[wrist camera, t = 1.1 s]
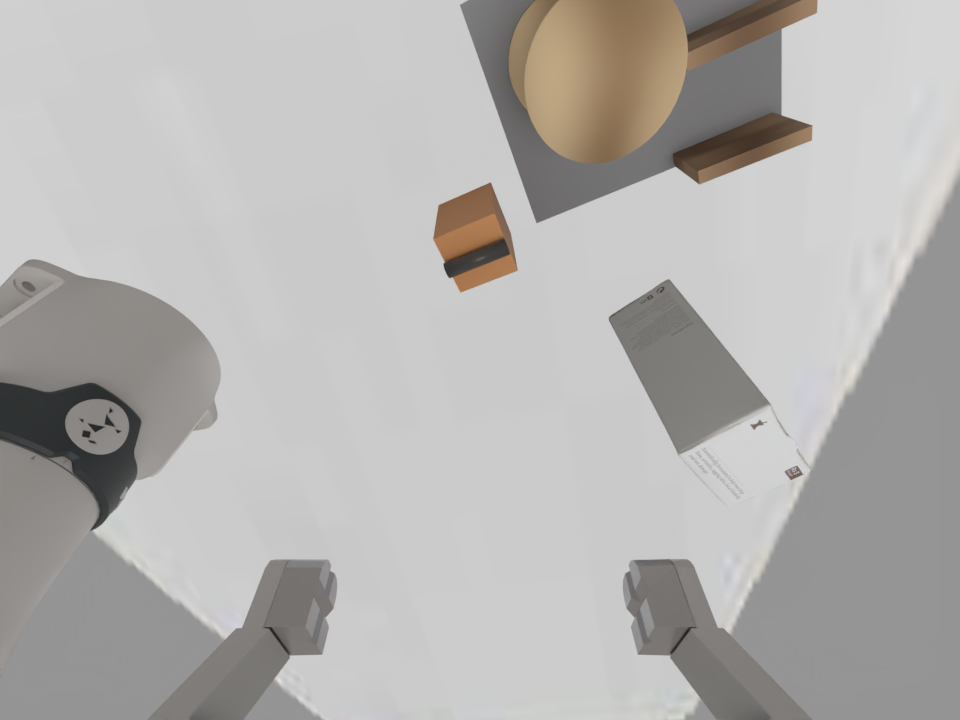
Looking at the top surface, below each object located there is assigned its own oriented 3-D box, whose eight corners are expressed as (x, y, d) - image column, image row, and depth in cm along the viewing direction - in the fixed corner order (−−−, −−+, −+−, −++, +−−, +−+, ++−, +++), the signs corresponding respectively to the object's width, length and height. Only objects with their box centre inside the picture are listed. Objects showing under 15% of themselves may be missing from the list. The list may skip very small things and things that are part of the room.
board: (534, 217, 32) (536, 223, 31) (460, 5, 25) (459, 4, 24) (771, 120, 28) (781, 124, 28) (767, -163, 21) (781, -171, 20)
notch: (674, 165, 29) (699, 184, 26) (657, 48, 25) (685, 53, 22) (772, 125, 28) (811, 140, 24) (771, -5, 24) (817, -8, 21)
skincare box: (605, 316, 38) (667, 454, 26) (671, 273, 35) (772, 403, 23) (652, 372, 41) (724, 514, 30) (714, 337, 39) (819, 476, 27)
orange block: (461, 253, 34) (460, 300, 28) (438, 205, 32) (431, 246, 26) (511, 233, 33) (519, 277, 27) (490, 182, 31) (495, 219, 25)
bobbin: (529, 139, 28) (552, 186, 20) (491, 21, 24) (501, 25, 17) (631, 93, 26) (696, 126, 19) (607, -40, 23) (675, -66, 15)
